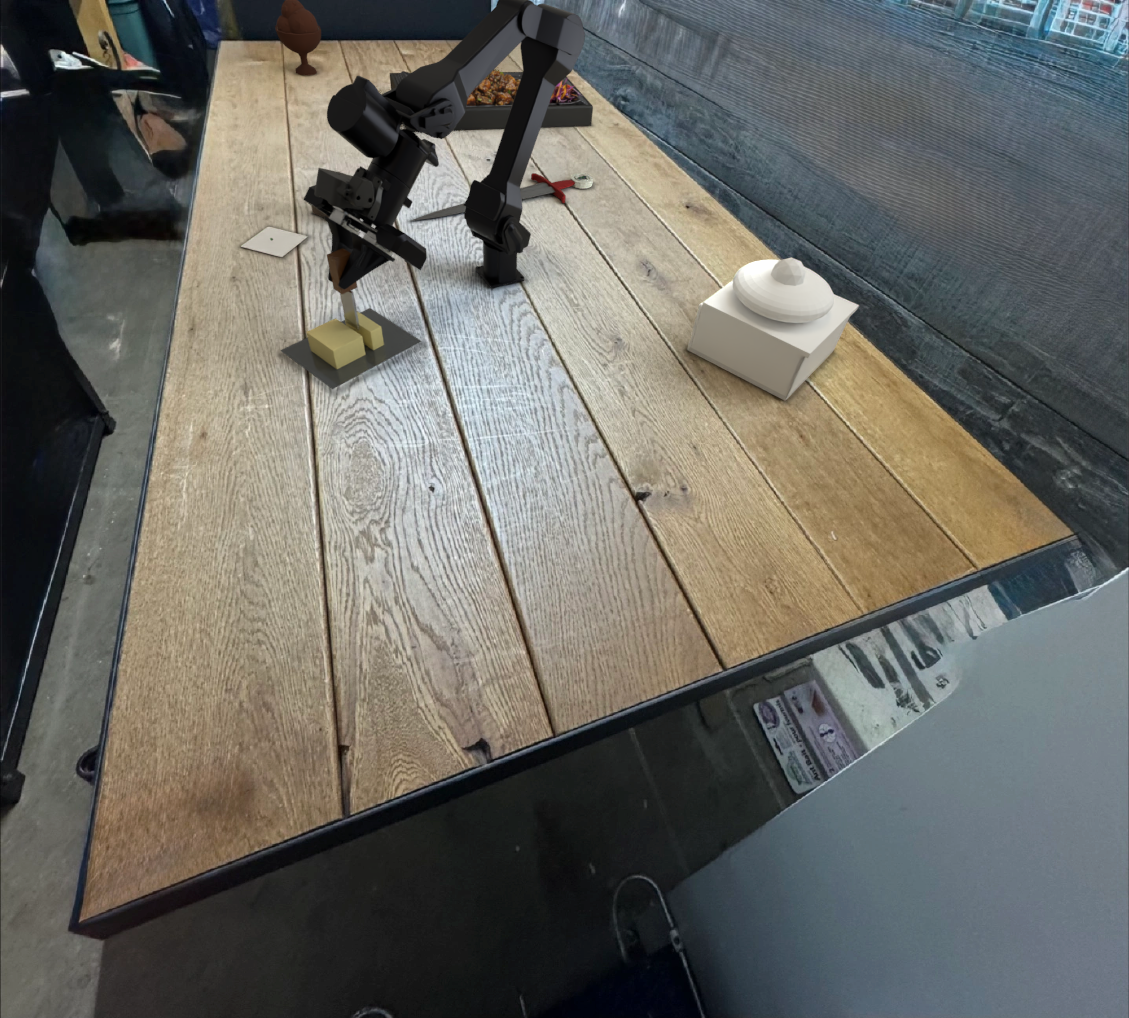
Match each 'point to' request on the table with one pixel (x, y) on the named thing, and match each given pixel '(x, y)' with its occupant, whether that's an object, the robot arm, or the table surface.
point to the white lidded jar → (771, 325)
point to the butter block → (336, 343)
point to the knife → (336, 266)
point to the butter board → (393, 345)
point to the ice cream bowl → (298, 33)
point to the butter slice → (369, 332)
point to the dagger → (530, 191)
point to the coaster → (274, 241)
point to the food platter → (496, 100)
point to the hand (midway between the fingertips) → (336, 284)
